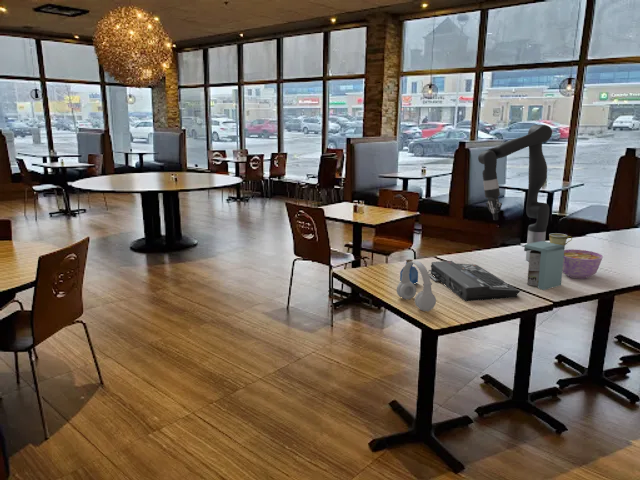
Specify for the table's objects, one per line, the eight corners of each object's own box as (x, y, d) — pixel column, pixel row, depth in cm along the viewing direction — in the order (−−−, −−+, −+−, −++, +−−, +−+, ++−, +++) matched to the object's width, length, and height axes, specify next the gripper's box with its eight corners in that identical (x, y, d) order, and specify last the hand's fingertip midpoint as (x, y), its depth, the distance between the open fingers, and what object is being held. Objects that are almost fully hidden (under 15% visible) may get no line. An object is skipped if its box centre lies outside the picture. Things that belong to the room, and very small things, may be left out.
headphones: (436, 310, 204) (438, 266, 199) (419, 313, 201) (420, 269, 196) (411, 295, 222) (412, 255, 218) (395, 298, 219) (396, 257, 215)
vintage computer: (521, 297, 216) (522, 280, 215) (460, 304, 212) (461, 286, 211) (476, 272, 258) (477, 257, 256) (425, 277, 254) (425, 262, 252)
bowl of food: (550, 277, 244) (552, 255, 241) (563, 268, 258) (565, 247, 256) (594, 285, 231) (596, 261, 228) (605, 275, 245) (607, 253, 242)
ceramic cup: (550, 252, 289) (551, 236, 287) (545, 248, 299) (547, 233, 297) (573, 253, 287) (575, 237, 285) (568, 249, 297) (569, 233, 295)
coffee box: (541, 286, 230) (543, 254, 227) (526, 284, 233) (529, 252, 230) (543, 281, 238) (546, 249, 234) (529, 279, 241) (532, 248, 237)
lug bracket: (538, 278, 242) (542, 241, 237) (561, 285, 232) (564, 245, 227) (521, 283, 235) (524, 244, 231) (543, 290, 225) (547, 249, 221)
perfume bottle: (407, 281, 243) (407, 258, 240) (417, 283, 239) (418, 260, 236) (400, 283, 239) (400, 260, 236) (410, 286, 235) (411, 262, 232)
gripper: (504, 186, 252) (509, 219, 254) (491, 186, 265) (495, 217, 267) (491, 189, 251) (496, 222, 253) (478, 189, 264) (483, 220, 266)
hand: (496, 219), depth 260 cm, fingers closed
